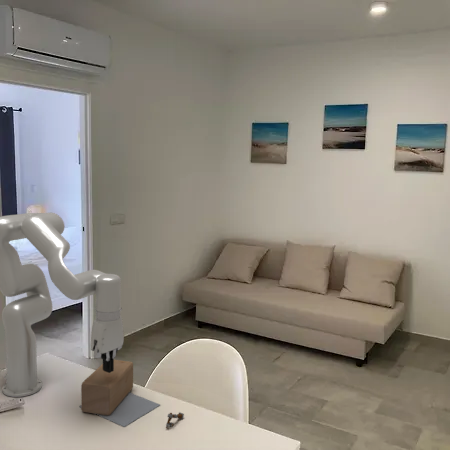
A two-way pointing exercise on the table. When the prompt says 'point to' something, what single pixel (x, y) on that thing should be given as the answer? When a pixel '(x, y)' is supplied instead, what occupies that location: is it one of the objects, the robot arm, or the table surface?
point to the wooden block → (106, 388)
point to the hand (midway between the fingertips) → (108, 370)
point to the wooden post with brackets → (173, 417)
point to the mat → (130, 410)
